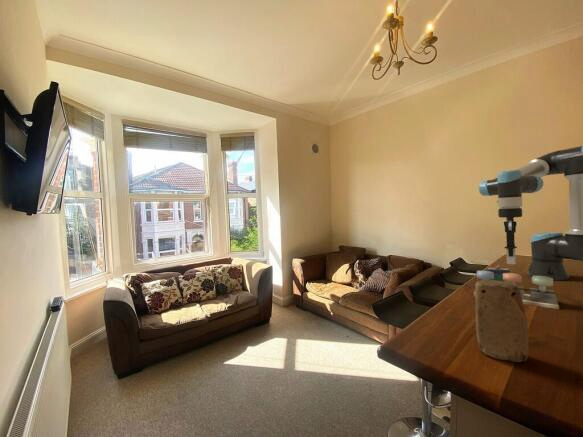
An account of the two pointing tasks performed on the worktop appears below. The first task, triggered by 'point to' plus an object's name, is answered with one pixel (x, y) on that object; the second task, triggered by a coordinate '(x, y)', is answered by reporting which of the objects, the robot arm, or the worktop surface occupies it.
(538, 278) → the sage button
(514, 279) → the terracotta button
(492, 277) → the slate button
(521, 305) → the block
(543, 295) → the button board
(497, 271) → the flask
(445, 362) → the worktop surface
